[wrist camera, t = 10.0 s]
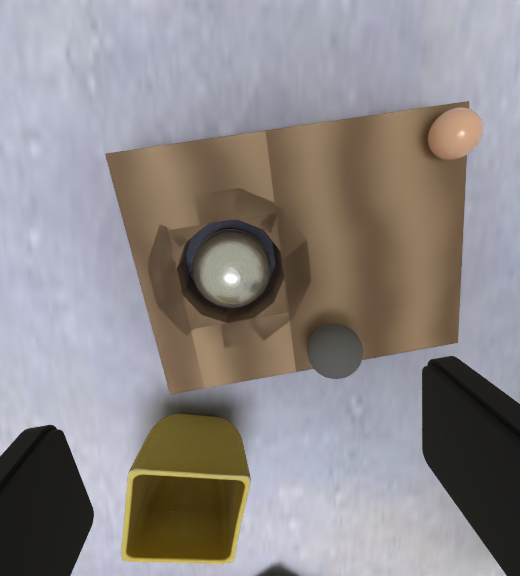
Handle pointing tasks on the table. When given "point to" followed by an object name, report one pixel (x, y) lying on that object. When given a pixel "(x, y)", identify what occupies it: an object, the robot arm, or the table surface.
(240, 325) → the board
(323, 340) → the gray ball
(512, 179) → the table surface
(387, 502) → the table surface
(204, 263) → the steel ball
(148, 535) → the flower pot
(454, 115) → the terracotta ball
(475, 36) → the table surface
